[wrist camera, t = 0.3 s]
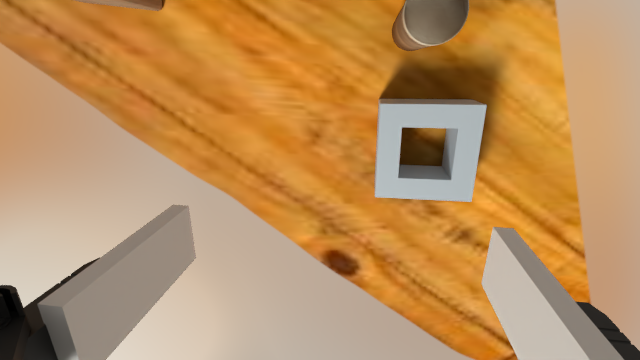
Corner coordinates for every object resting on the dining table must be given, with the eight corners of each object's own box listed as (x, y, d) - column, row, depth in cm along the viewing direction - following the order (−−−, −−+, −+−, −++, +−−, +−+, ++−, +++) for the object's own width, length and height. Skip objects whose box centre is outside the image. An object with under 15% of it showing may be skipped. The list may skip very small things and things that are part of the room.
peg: (392, 9, 34) (406, -24, 21) (433, 8, 34) (473, -26, 21) (390, 51, 36) (401, 45, 23) (429, 51, 35) (464, 44, 22)
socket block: (378, 98, 37) (380, 103, 33) (472, 99, 36) (486, 104, 31) (374, 181, 41) (375, 197, 36) (459, 185, 39) (471, 201, 35)
